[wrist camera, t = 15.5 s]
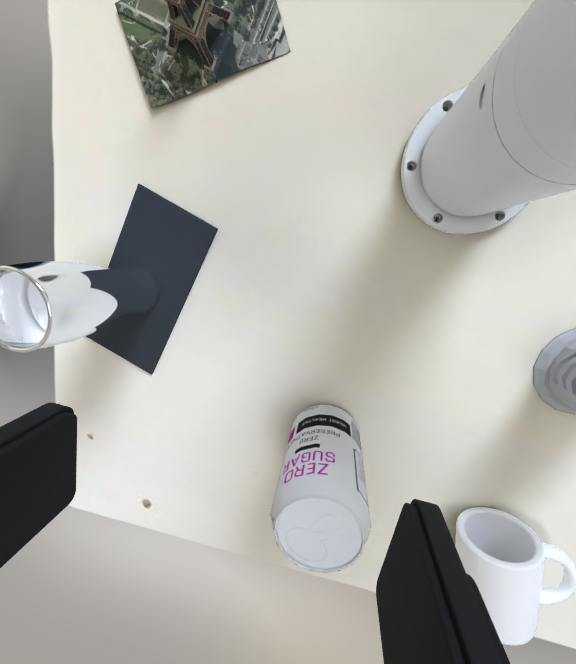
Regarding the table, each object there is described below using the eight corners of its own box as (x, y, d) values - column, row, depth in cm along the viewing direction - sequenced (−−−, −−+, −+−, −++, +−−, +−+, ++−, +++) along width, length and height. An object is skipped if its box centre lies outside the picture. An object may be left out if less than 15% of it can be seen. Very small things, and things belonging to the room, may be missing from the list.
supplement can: (328, 473, 40) (323, 595, 26) (279, 432, 40) (246, 531, 26) (373, 433, 38) (396, 541, 24) (322, 388, 38) (313, 470, 23)
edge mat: (140, 184, 35) (138, 183, 35) (218, 229, 35) (216, 228, 35) (85, 334, 41) (83, 335, 40) (152, 373, 41) (151, 374, 40)
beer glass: (164, 265, 37) (53, 272, 22) (160, 323, 39) (54, 364, 24) (109, 254, 37) (-34, 254, 23) (107, 311, 39) (-27, 344, 25)
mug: (444, 570, 41) (469, 642, 34) (446, 504, 39) (473, 565, 31) (548, 577, 39) (599, 655, 32) (556, 508, 37) (614, 575, 29)
